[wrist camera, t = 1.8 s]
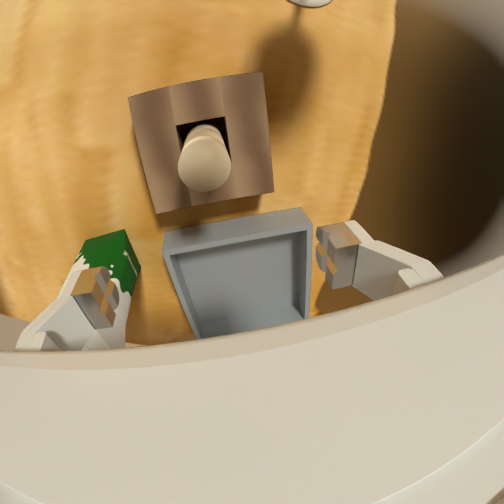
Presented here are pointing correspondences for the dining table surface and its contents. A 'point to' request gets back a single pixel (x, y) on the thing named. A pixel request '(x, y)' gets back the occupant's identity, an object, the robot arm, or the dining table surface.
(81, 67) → the dining table surface
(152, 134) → the socket block
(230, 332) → the tray
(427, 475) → the robot arm
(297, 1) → the wineglass
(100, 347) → the milk carton
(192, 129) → the dowel
